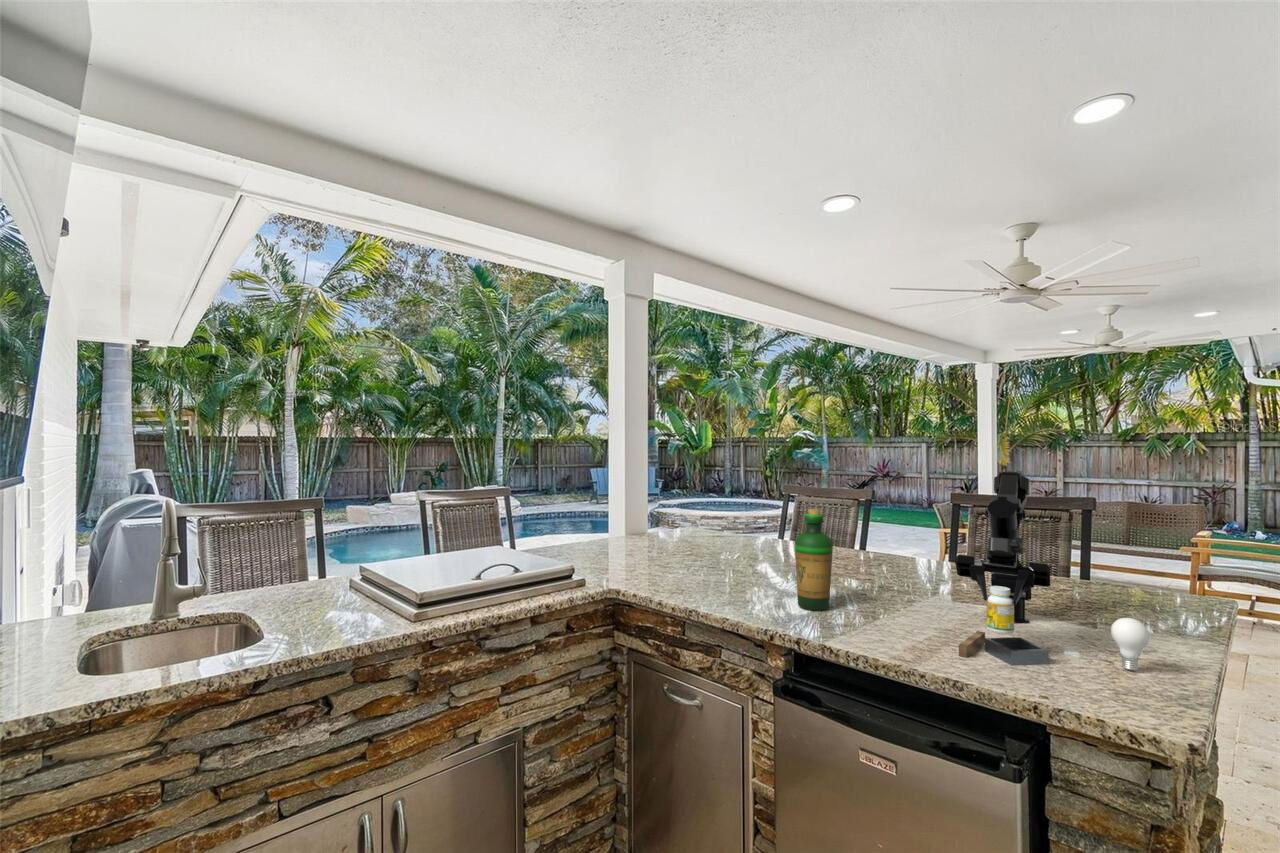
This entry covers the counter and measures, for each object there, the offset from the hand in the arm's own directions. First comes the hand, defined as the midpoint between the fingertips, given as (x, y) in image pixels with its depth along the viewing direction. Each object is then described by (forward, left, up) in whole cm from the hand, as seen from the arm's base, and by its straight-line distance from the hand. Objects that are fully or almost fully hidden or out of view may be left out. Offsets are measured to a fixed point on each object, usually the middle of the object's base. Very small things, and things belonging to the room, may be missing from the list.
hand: (999, 601), depth 136 cm
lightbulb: (-22, +10, -12) cm, 27 cm away
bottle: (+27, -41, -12) cm, 51 cm away
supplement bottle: (-1, -1, -7) cm, 7 cm away
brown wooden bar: (+3, -5, -12) cm, 14 cm away
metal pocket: (-3, +1, -12) cm, 13 cm away
